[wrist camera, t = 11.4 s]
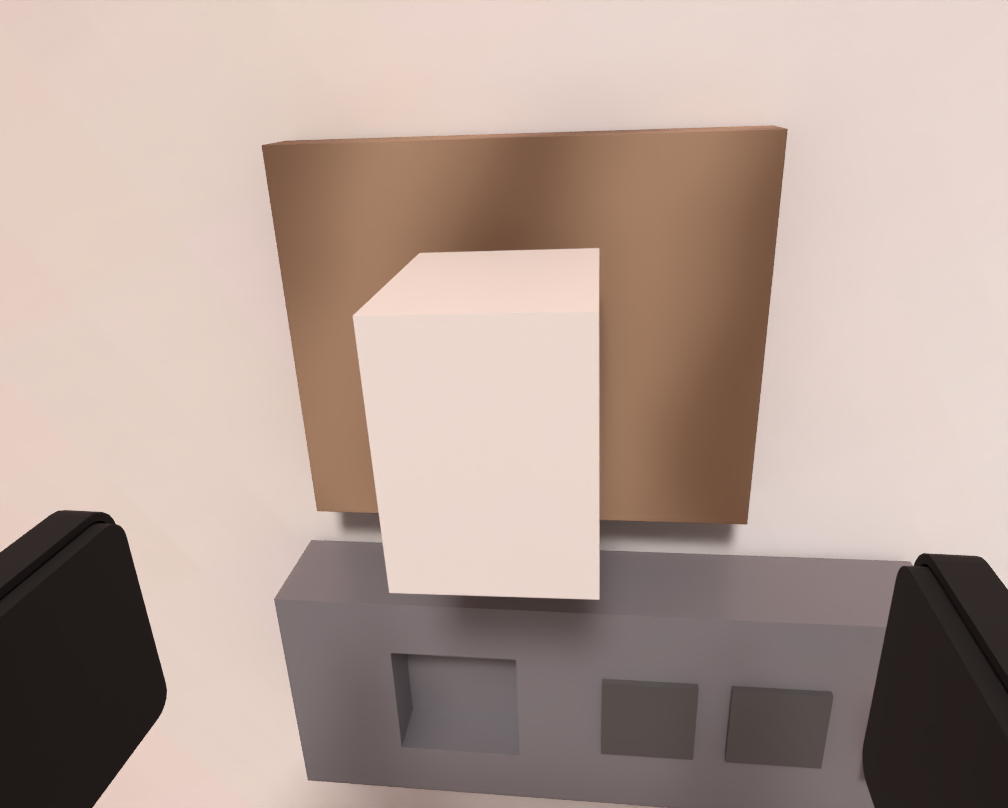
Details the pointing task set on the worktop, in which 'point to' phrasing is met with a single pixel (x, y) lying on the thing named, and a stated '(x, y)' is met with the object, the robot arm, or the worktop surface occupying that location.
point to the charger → (487, 422)
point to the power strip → (594, 680)
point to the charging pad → (553, 225)
